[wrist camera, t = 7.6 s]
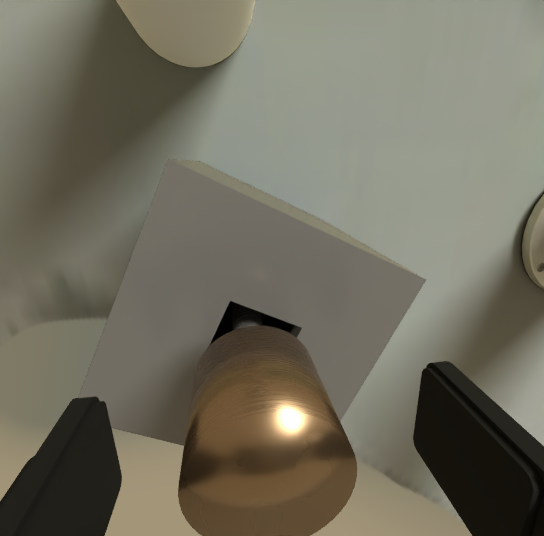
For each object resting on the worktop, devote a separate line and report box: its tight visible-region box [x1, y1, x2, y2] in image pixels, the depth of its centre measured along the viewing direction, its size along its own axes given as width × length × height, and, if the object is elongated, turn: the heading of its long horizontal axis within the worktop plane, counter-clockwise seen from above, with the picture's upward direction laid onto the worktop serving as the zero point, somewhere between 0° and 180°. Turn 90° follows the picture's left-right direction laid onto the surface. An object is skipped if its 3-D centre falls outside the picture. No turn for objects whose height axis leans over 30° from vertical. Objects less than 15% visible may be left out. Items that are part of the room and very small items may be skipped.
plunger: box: [178, 301, 357, 536], centre depth 17 cm, size 8×8×20 cm
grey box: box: [78, 159, 426, 445], centre depth 20 cm, size 11×11×15 cm
